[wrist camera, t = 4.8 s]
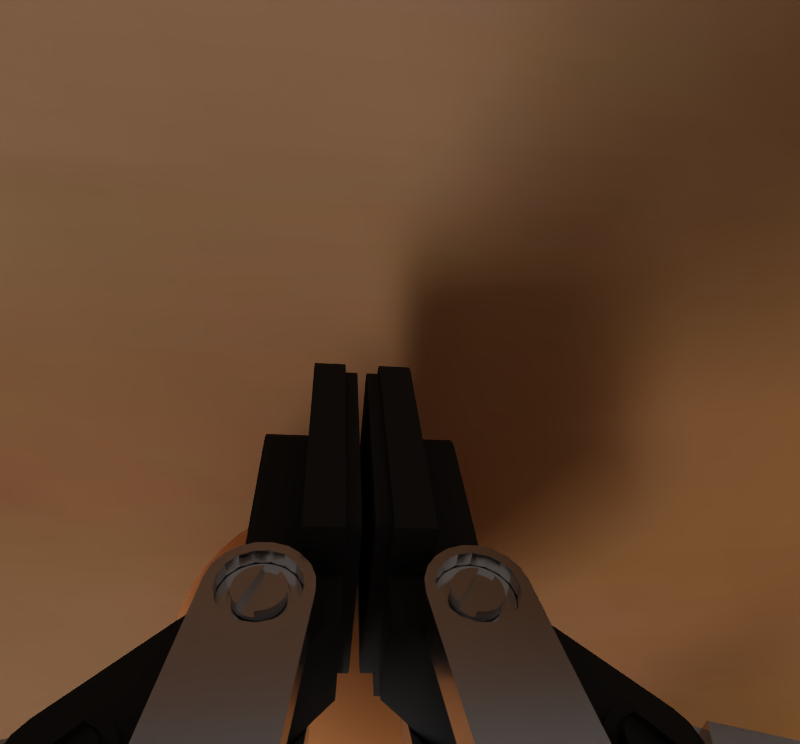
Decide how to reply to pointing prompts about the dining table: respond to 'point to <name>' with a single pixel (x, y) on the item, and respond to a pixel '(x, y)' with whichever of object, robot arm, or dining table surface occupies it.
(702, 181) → the dining table surface
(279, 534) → the robot arm
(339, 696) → the ball
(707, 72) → the dining table surface
